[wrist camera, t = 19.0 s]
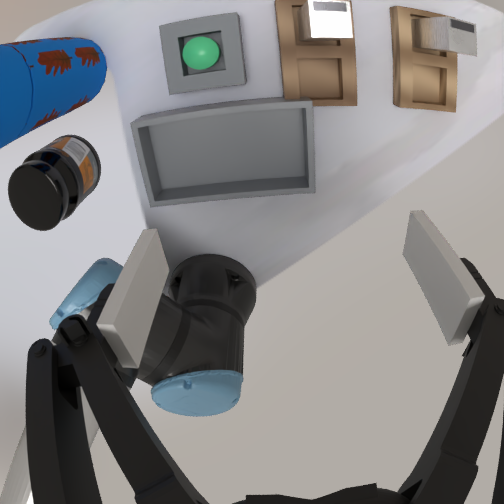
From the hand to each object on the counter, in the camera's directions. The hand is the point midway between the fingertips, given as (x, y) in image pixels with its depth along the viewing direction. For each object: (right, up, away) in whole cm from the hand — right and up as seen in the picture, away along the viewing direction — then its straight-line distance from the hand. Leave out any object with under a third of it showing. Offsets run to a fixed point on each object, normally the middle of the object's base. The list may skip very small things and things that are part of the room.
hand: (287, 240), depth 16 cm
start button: (-7, +23, +17) cm, 29 cm away
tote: (-5, +14, +26) cm, 29 cm away
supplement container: (-29, +13, +27) cm, 42 cm away
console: (-7, +24, +18) cm, 31 cm away
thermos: (-26, +25, +19) cm, 41 cm away
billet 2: (+21, +28, +14) cm, 38 cm away
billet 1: (+6, +27, +15) cm, 32 cm away
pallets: (+14, +25, +17) cm, 33 cm away
